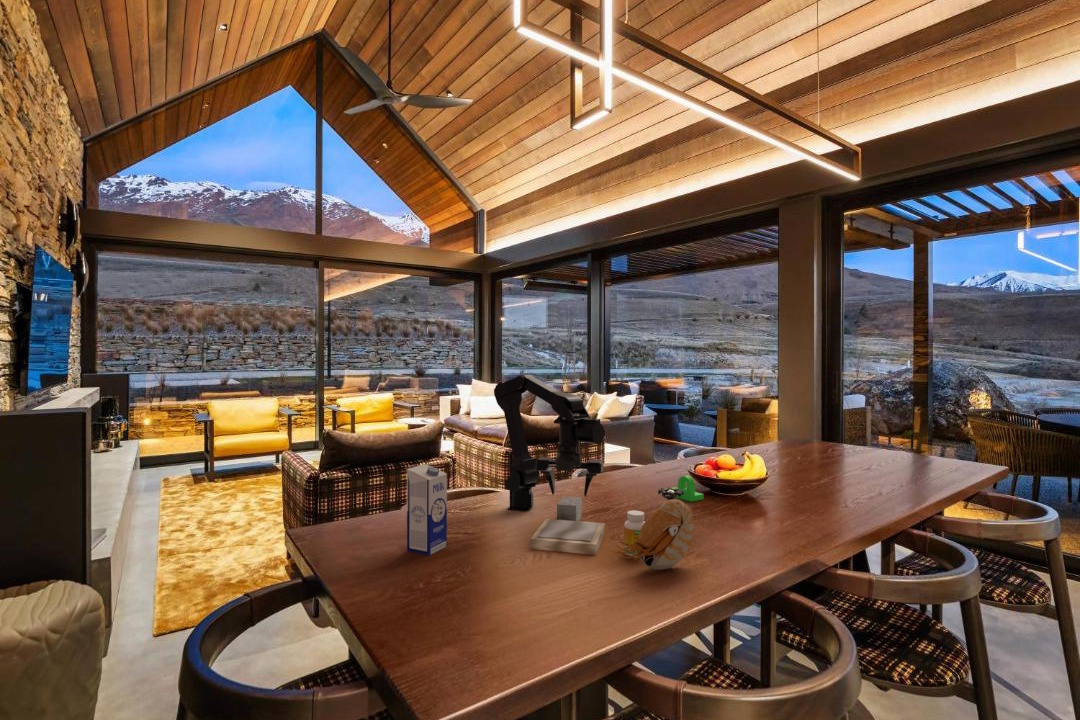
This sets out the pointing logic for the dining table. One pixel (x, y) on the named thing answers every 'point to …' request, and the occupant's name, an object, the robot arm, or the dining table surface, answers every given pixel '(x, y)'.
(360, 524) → the dining table surface
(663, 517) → the nautilus
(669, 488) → the valve
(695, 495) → the mechanical part
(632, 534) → the supplement bottle
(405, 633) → the dining table surface
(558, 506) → the block
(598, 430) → the robot arm
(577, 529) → the stand
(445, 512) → the milk carton
